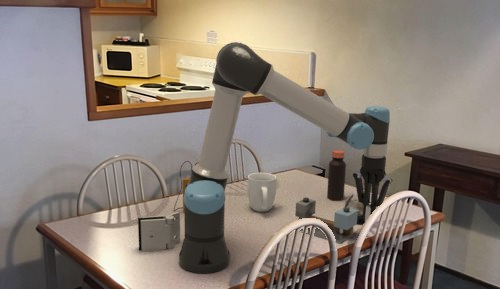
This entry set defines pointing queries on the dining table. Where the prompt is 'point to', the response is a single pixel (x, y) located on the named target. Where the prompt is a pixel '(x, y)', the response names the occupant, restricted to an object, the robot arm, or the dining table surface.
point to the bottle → (336, 176)
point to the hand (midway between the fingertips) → (368, 224)
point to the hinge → (159, 232)
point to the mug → (261, 191)
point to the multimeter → (184, 185)
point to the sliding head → (345, 218)
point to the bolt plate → (337, 234)
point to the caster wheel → (356, 208)
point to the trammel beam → (307, 210)
